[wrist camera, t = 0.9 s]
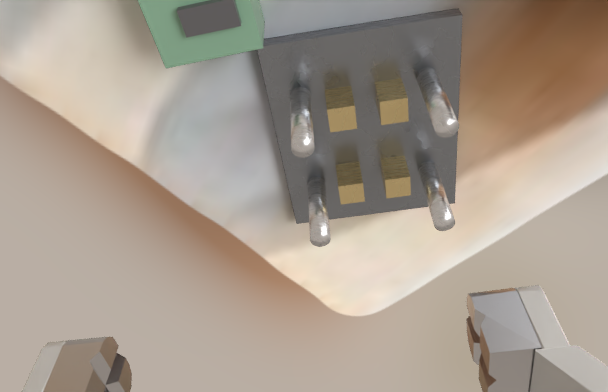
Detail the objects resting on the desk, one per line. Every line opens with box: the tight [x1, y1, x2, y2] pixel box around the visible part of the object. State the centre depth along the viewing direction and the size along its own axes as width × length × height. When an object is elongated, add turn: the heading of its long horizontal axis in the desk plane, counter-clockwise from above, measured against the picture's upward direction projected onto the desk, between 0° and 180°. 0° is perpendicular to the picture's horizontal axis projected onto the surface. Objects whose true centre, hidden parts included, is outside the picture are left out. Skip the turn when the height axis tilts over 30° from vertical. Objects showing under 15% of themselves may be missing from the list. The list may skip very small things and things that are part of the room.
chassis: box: [257, 8, 462, 246], centre depth 38 cm, size 16×13×7 cm
